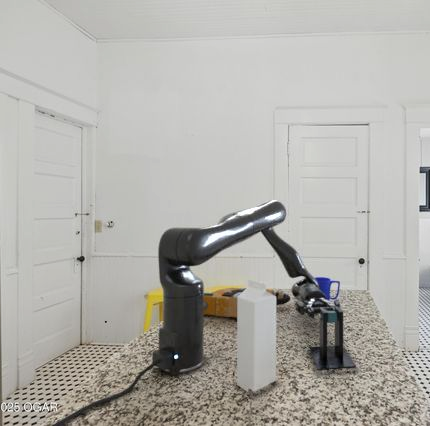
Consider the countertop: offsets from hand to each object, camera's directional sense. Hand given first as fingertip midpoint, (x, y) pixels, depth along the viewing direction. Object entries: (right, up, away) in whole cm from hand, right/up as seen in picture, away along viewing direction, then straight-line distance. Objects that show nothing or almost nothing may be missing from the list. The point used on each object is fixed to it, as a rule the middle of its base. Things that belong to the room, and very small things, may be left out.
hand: (324, 314), depth 85 cm
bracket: (+1, -9, -8) cm, 12 cm away
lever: (0, 0, -3) cm, 3 cm away
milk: (-16, -9, -19) cm, 26 cm away
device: (-27, -10, +32) cm, 43 cm away
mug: (+3, -10, +43) cm, 44 cm away
